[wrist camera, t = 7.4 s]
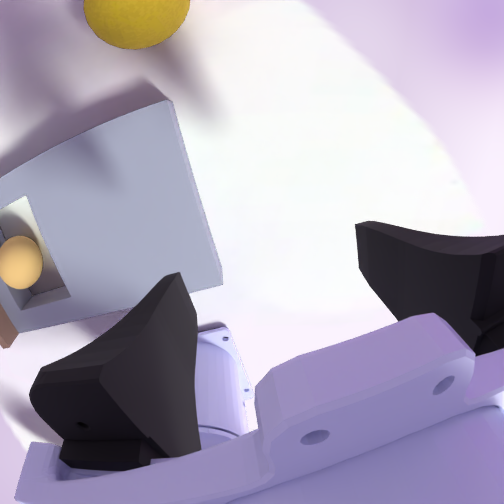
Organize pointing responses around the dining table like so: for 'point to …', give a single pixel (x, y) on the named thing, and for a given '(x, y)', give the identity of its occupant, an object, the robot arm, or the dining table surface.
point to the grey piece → (110, 220)
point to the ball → (20, 262)
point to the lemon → (135, 20)
